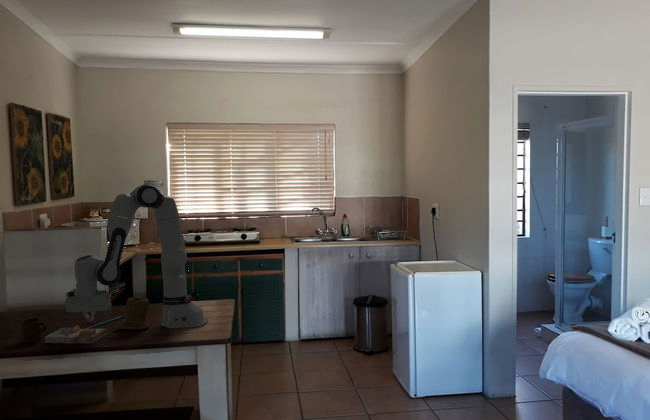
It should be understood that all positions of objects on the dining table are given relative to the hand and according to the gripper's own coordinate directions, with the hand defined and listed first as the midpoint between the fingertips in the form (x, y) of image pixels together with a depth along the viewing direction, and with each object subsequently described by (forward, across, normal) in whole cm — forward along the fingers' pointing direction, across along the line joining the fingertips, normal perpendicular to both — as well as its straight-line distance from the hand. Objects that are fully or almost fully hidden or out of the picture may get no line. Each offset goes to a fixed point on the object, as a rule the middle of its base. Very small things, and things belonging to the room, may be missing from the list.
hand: (90, 320), depth 235 cm
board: (+7, +1, +4) cm, 8 cm away
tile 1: (+5, +8, 0) cm, 10 cm away
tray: (+7, +12, +4) cm, 14 cm away
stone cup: (+8, -15, -12) cm, 21 cm away
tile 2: (+5, -2, +6) cm, 8 cm away
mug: (+7, +22, +6) cm, 24 cm away
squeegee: (+8, +10, -20) cm, 24 cm away
